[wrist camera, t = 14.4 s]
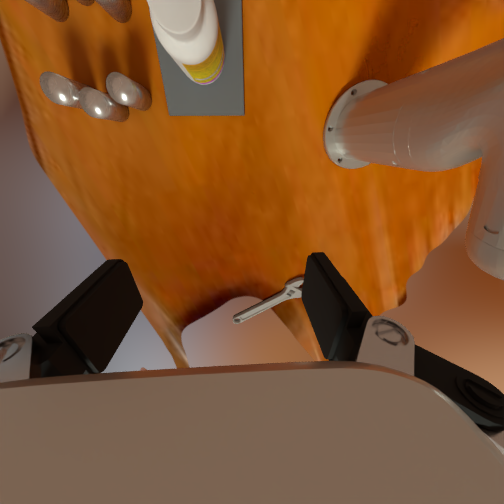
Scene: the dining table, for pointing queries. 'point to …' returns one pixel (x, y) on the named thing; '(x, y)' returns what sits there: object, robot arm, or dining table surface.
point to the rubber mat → (224, 87)
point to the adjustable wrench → (271, 300)
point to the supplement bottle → (190, 36)
